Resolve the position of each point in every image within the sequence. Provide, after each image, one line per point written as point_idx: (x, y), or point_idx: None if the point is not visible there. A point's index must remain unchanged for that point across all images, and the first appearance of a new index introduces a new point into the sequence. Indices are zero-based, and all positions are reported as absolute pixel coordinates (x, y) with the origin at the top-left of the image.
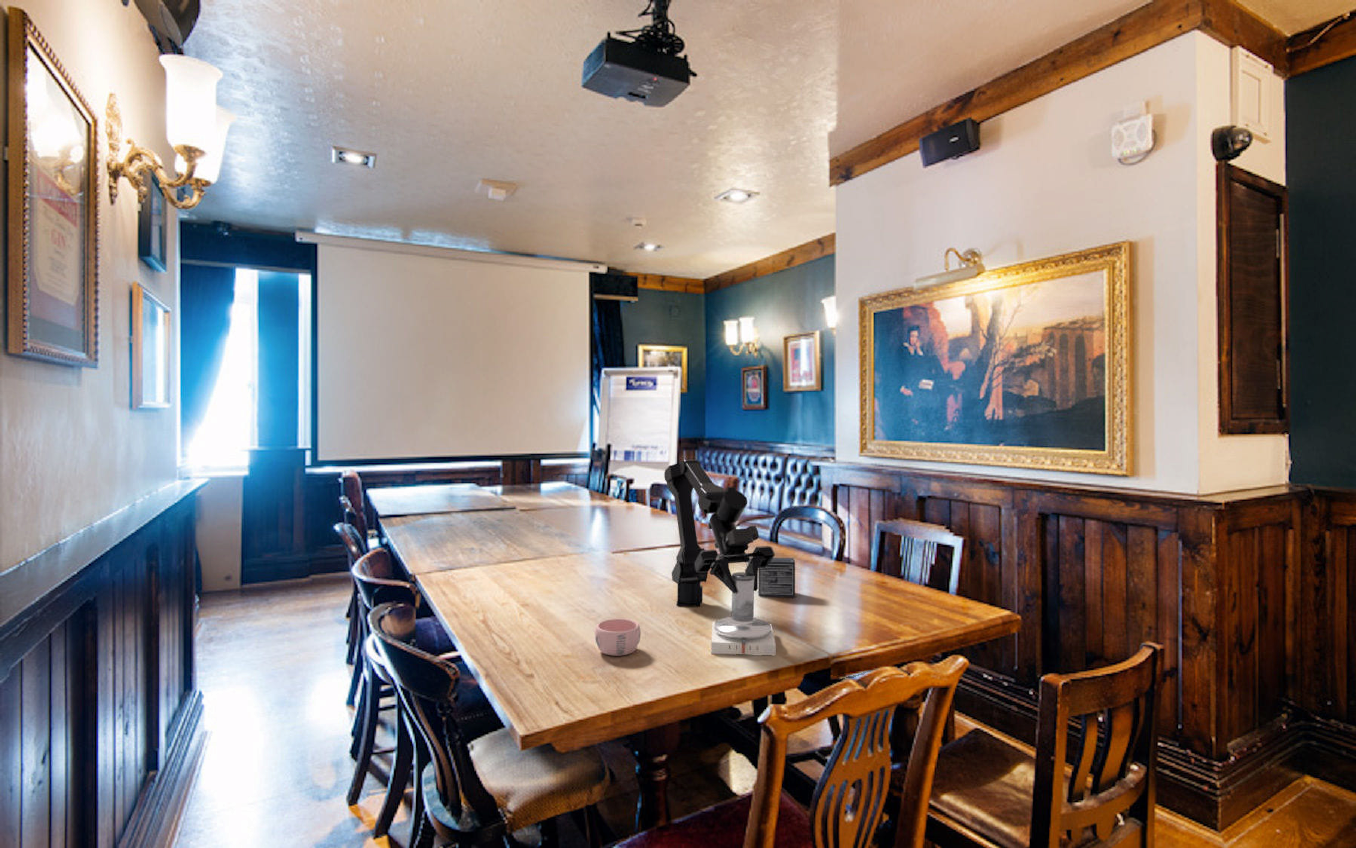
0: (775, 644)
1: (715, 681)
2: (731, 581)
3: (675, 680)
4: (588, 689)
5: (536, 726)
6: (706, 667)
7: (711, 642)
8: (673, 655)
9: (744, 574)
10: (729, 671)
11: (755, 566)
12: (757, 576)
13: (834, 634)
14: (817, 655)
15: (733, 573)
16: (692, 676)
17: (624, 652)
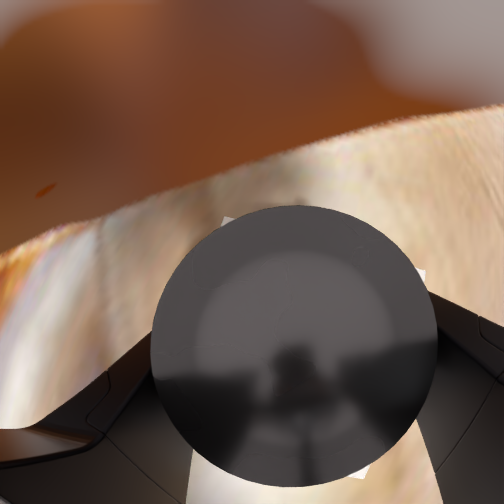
0: (224, 216)
1: (413, 128)
2: (434, 299)
3: (482, 152)
4: None
5: None
6: (431, 193)
7: (425, 271)
8: (497, 282)
9: (268, 375)
10: (382, 162)
11: (61, 430)
12: (120, 359)
13: (32, 344)
14: (127, 220)
15: (397, 436)
16: (456, 158)
17: None
